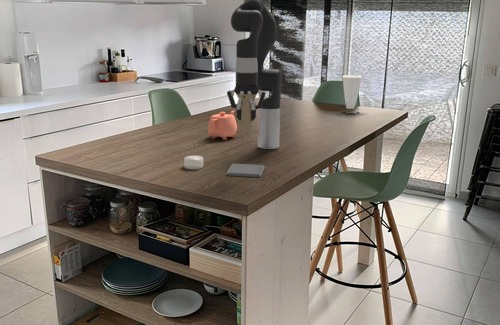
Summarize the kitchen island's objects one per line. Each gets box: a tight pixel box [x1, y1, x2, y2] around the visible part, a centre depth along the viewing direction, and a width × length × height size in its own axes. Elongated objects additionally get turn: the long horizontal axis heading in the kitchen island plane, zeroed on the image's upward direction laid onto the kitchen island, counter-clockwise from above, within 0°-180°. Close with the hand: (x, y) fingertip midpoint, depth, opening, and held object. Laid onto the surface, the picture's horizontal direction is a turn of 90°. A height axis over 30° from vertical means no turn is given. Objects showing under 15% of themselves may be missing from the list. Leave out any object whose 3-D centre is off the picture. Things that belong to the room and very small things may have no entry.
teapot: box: [207, 109, 238, 141], centre depth 239 cm, size 20×12×12 cm, turn 152°
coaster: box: [225, 163, 265, 178], centre depth 185 cm, size 12×12×1 cm
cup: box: [342, 74, 363, 110], centre depth 309 cm, size 12×12×22 cm
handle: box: [236, 94, 257, 138], centre depth 180 cm, size 5×6×15 cm
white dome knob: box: [183, 155, 204, 170], centre depth 191 cm, size 7×7×4 cm
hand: (246, 119), depth 181 cm, fingers closed on handle, 4 cm apart
